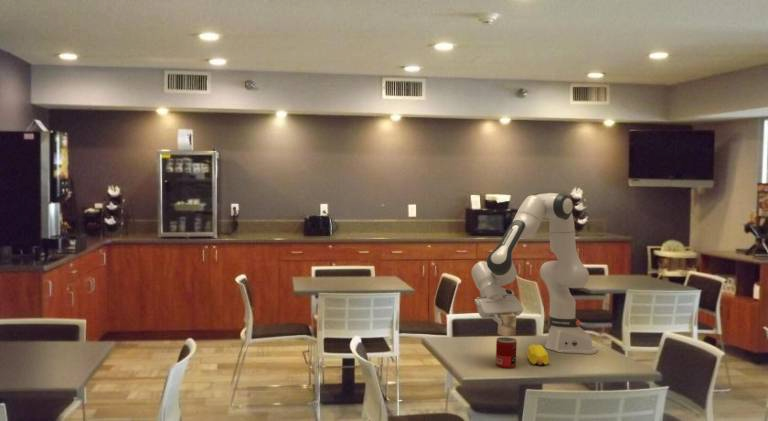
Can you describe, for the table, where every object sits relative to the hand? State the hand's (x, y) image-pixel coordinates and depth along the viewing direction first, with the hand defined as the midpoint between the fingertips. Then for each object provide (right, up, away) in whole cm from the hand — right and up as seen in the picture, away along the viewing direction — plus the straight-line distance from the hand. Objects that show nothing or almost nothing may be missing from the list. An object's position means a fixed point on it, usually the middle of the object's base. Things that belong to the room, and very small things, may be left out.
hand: (507, 324), depth 301 cm
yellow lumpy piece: (+14, -18, +11) cm, 25 cm away
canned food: (-1, -17, +1) cm, 17 cm away
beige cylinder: (0, -4, +1) cm, 4 cm away
